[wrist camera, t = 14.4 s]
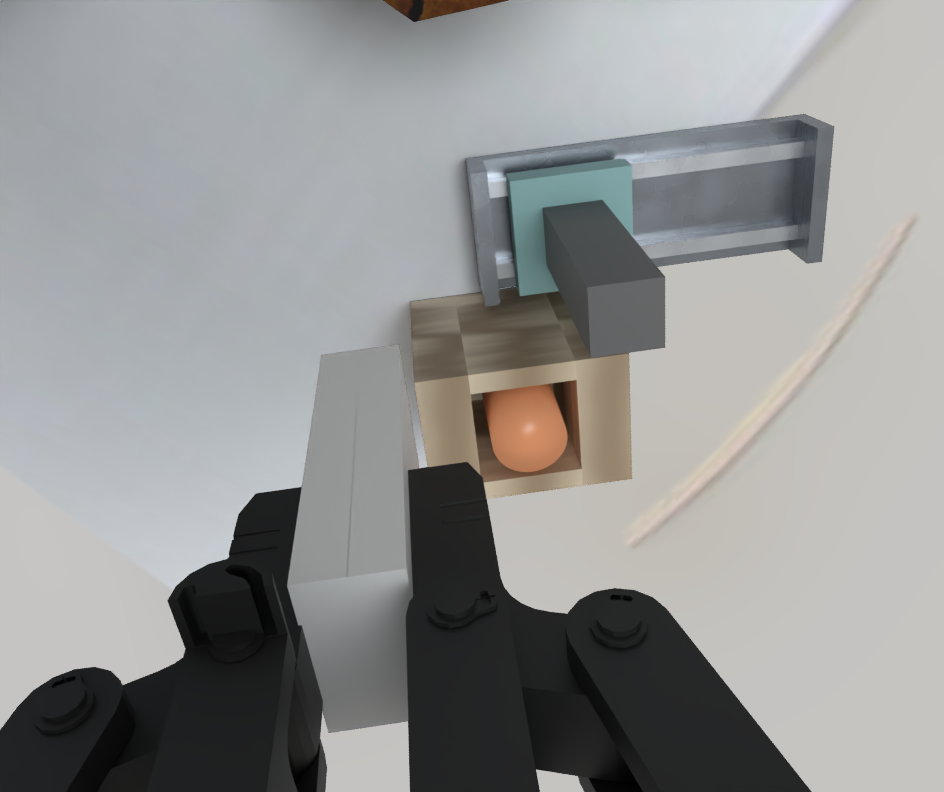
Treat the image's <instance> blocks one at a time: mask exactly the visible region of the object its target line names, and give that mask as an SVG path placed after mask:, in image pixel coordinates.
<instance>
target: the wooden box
mask: <svg viewBox="0 0 944 792" xmlns="http://www.w3.org/2000/svg"><path fill="white" fill-rule="evenodd" d="M499 295H500V304H501V305H495V306H488V307H485V303H484V299H483V295H482V292H478V293H471V294H463V295H456V296H449V297H441V298H434V299H426V300H419V301H411V302H410V309H411V329H412V349H413V369H414V385H415V391H416V397H417V403H418V410H419V416H420V422H421V428H422V434H423V441H424V447H425V453H426V459H427V465H428V467H433V466H440V465H447V464H455V463H462V462H468V463H469V464H470V465H471V466H472V467H473V468H474V469H475V470H476V471H477V472H478V473H479V474H480V475H481V476H482V477H483V482H484V487H485V493H486V499H489V498H497V497H504V496H512V495H518V494H526V493H532V492H539V491H548V490H554V489H561V488H569V487H575V486H583V485H591V484H598V483H605V482H612V481H619V480H627V479H632V458H631V419H630V418H631V417H630V416H631V415H630V376H629V375H630V374H629V353H621V354H614V355H607V356H599V357H592V358H591V357H590V355H589V353H588V351H587V349H586V347H585V345H584V343H583V340H582V338H581V336H580V334H579V332H578V330H577V328H576V326H575V324H574V322H573V319H572V317H571V315H570V313H569V311H568V309H567V307H566V305H565V303H564V301H563V298H562V296H561V294H560V292H559V291H555V292H547V293H540V294H532V295H525V296H520V295H519V292H518V289H517V287H516V288H508V289H501V290H499ZM543 384H551V387H552V390H553V393H554V396H555V398H556V401H557V404H558V407H559V410H560V412H561V415H562V418H563V421H564V424H565V426H566V430H567V444H566V447H565V450H564V452H563V453H562V455H561V456H560V457H559V459H558V460H556V461H555V462H554V463H553V464H552V465H550V466H548V467H546V468H544V469H542V470H538V471H534V472H519V471H515V470H512V469H510V468H508V467H506V466H505V465H503V464H502V463H501V462H500V461H499V460H498V459H497V457H496V455H495V454H494V451H493V447H492V442H491V437H490V432H489V427H488V422H487V417H486V412H485V407H484V402H483V397H482V393H484V392H492V391H499V390H506V389H514V388H521V387H528V386H536V385H543Z"/></svg>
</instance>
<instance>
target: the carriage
mask: <svg viewBox="0 0 944 792" xmlns="http://www.w3.org/2000/svg"><path fill="white" fill-rule="evenodd" d="M506 180H507V191H508V202H509V213H510V224H511V235H512V246H513V257H514V268H515V279H516V286H517V289H518V292H519V295H520V296H525V295H532V294H540V293H547V292H555V291H559V292H560V294H561V296H562V298H563V301H564V303H565V305H566V307H567V309H568V311H569V313H570V315H571V317H572V319H573V322H574V324H575V326H576V328H577V330H578V332H579V334H580V336H581V338H582V340H583V343H584V345H585V347H586V349H587V351H588V353H589V355H590V357H591V358H592V357H599V356H607V355H614V354H621V353H629V352H636V351H643V350H651V349H658V348H665V276H664V275H663V274H662V273H661V271H660V270H659V269H658V268H657V266H656V265H655V264H654V263H653V261H652V260H651V259H650V258H649V257H648V255H647V254H646V253H645V252H644V250H643V249H642V248H641V247H640V245H639V244H638V243H637V242H636V240H635V239H634V238H633V204H632V165H631V164H630V163H629V162H628V161H626V160H625V159H624V158H621V159H613V160H605V161H598V162H590V163H583V164H575V165H567V166H560V167H552V168H544V169H537V170H529V171H522V172H514V173H506Z"/></svg>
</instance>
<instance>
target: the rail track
mask: <svg viewBox="0 0 944 792" xmlns="http://www.w3.org/2000/svg"><path fill="white" fill-rule="evenodd" d="M833 134H834V126H832V125H829V124H827V123H825V122H822V121H820V120H818V119H815V118H813V117H811V116H808V115H806V114H801V115H794V116H786V117H778V118H771V119H763V120H755V121H748V122H740V123H732V124H725V125H717V126H709V127H702V128H694V129H687V130H679V131H671V132H664V133H656V134H648V135H641V136H633V137H625V138H618V139H610V140H602V141H595V142H587V143H579V144H572V145H564V146H557V147H549V148H541V149H534V150H526V151H518V152H511V153H503V154H495V155H488V156H480V157H472V158H466V167H467V176H468V185H469V194H470V203H471V212H472V220H473V229H474V238H475V247H476V256H477V265H478V274H479V283H480V287H481V291H482V295H483V299H484V303H485V307H488V306H495V305H501V304H500V295H499V288H502V287H510V286H516V279H515V268H514V257H513V246H512V235H511V224H510V213H509V202H508V191H507V180H506V173H514V172H522V171H529V170H537V169H544V168H552V167H560V166H567V165H575V164H583V163H590V162H598V161H605V160H613V159H621V158H624V159H625V160H626V161H628V162H629V163H630V164H631V165H632V204H633V238H634V239H635V240H636V242H637V243H638V244H639V245H640V247H641V248H642V249H643V250H644V252H645V253H646V254H647V255H648V257H649V258H650V259H651V260H652V261H653V263H654V264H655V265H656V266H657V267H659V266H666V265H674V264H681V263H689V262H696V261H704V260H711V259H719V258H726V257H733V256H741V255H749V254H756V253H763V252H770V251H778V250H786V249H789V250H790V251H791V252H793V253H794V254H795V255H797V256H798V257H799V258H800V259H802V260H803V261H805V262H806V263H814V262H822V254H823V242H824V231H825V221H826V209H827V200H828V188H829V178H830V167H831V155H832V144H833Z"/></svg>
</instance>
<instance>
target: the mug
mask: <svg viewBox="0 0 944 792" xmlns="http://www.w3.org/2000/svg"><path fill="white" fill-rule="evenodd" d="M383 1H385V2H386V3H388V4H389V5H390V6H392V7H393V8H395V9H396V10H398V11H399V12H400V13H402V14H403V15H405V16H406V17H408V18H409V19H410V20H412V21H413V22H416V21H421V20H425V19H429V18H434V17H438V16H443V15H447V14H451V13H456V12H460V11H464V10H469V9H473V8H478V7H482V6H486V5H491V4H495V3H500V2H504V1H508V0H383Z"/></svg>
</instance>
